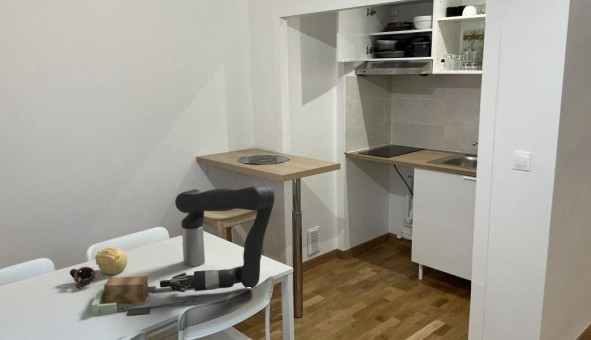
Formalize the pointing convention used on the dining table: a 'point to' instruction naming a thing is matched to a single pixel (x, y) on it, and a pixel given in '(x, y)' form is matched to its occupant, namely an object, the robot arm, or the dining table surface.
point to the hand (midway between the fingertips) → (160, 284)
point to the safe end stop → (98, 303)
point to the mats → (141, 309)
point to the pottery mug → (83, 276)
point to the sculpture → (111, 260)
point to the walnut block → (126, 290)
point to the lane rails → (163, 303)
